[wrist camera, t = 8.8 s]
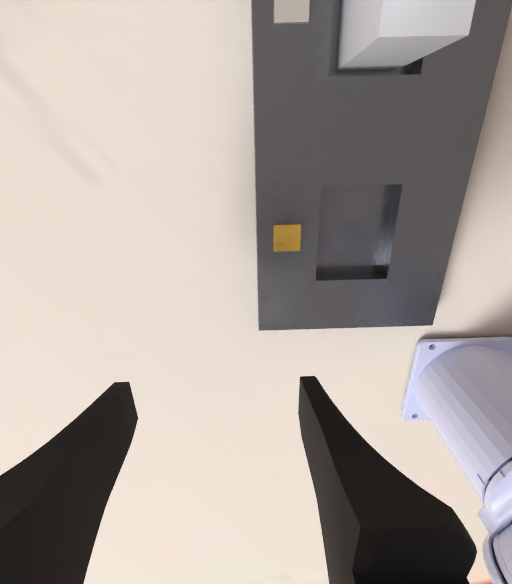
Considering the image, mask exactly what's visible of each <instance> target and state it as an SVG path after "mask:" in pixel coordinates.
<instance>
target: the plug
mask: <svg viewBox="0 0 512 584" xmlns="http://www.w3.org/2000/svg"><path fill="white" fill-rule="evenodd" d="M475 2H476V0H342V3H341V17H340V31H339V45H338V59H337V71H346V70H390V69H399V68H401V67H403V66H406V65H408V64H410V63H412V62H414V61H416V60H418V59H420V58H422V57H424V56H426V55H428V54H430V53H433V52H435V51H437V50H439V49H441V48H443V47H445V46H447V45H449V44H451V43H453V42H455V41H457V40H460V39H462V38H464V37H466V36H468V35H469V31H470V26H471V22H472V17H473V12H474V7H475Z"/></svg>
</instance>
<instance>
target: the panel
mask: <svg viewBox="0 0 512 584" xmlns="http://www.w3.org/2000/svg"><path fill="white" fill-rule="evenodd" d="M341 3H342V0H251V10H252V55H253V100H254V145H255V190H256V235H257V280H258V322H259V330H292V329H325V328H358V327H391V326H424V325H433V321H434V317H435V313H436V309H437V305H438V301H439V297H440V293H441V289H442V285H443V280H444V276H445V272H446V268H447V264H448V260H449V256H450V252H451V248H452V244H453V240H454V236H455V232H456V228H457V224H458V220H459V216H460V212H461V208H462V204H463V199H464V195H465V191H466V187H467V183H468V179H469V175H470V171H471V167H472V163H473V159H474V155H475V151H476V147H477V143H478V139H479V135H480V131H481V127H482V123H483V119H484V114H485V110H486V106H487V102H488V98H489V94H490V90H491V86H492V82H493V78H494V74H495V70H496V66H497V62H498V58H499V54H500V50H501V46H502V42H503V38H504V34H505V29H506V25H507V21H508V17H509V13H510V9H511V5H512V0H476V2H475V7H474V12H473V17H472V22H471V26H470V31H469V35H468V36H466V37H464V38H462V39H460V40H457V41H455V42H453V43H451V44H449V45H447V46H445V47H443V48H441V49H439V50H437V51H435V52H433V53H430V54H428V55H426V56H424V57H422V58H420V59H418V60H416V61H414V62H412V63H410V64H408V65H406V66H403V67H401V68H399V69H390V70H346V71H337V59H338V45H339V31H340V17H341Z"/></svg>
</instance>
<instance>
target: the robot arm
mask: <svg viewBox="0 0 512 584" xmlns="http://www.w3.org/2000/svg"><path fill="white" fill-rule="evenodd" d="M432 344H433V345H432ZM430 345H432V346H431V347H429V346H430ZM298 413H299V421H300V428H301V435H302V440H303V444H304V448H305V452H306V456H307V460H308V464H309V468H310V472H311V476H312V480H313V484H314V488H315V493H316V498H317V503H318V509H319V516H320V522H321V528H322V535H323V542H324V548H325V555H326V562H327V569H328V577H329V584H469V582H468V580H467V576H468V574H469V571H470V569H471V567H472V565H473V563H474V561H475V558H476V554H477V550H476V546H475V544H474V542H473V540H472V538H471V537H470V535H469V533H468V531H467V530H466V528H465V527H464V525H463V523H462V522H461V521H460V519H459V518H458V516H457V515H456V513H455V512H454V510H453V509H452V508H451V507H449V506H448V505H446V504H445V503H443V502H442V501H440V500H439V499H437V498H436V497H434V496H433V495H431V494H430V493H428V492H427V491H425V490H424V489H422V488H421V487H419V486H418V485H417V484H415V483H414V482H413V481H411V480H410V479H409V478H407V477H406V476H405V475H404V474H402V473H401V472H400V471H399V470H397V469H396V468H395V467H394V466H393V465H391V464H390V463H389V462H388V461H387V460H385V459H384V458H383V457H382V456H381V455H380V454H379V453H378V452H377V451H376V450H375V449H374V448H373V447H371V446H370V445H369V444H368V443H367V442H366V441H365V440H364V438H363V437H362V436H361V435H360V434H359V433H358V432H357V431H356V430H355V429H354V428H353V426H352V425H351V424H350V423H349V422H348V421H347V420H346V418H345V417H344V416H343V415H342V413H341V412H340V411H339V410H338V408H337V407H336V406H335V404H334V403H333V402H332V400H331V399H330V398H329V396H328V395H327V393H326V392H325V390H324V389H323V387H322V386H321V384H320V383H319V381H318V379H317V378H316V377H315V376H304V377H300V390H299V411H298ZM413 414H414V415H413ZM401 416H402V417H403V419H404V420H430V422H431V423H432V425H433V426H434V428H435V429H436V431H437V432H438V434H439V435H440V437H441V439H442V440H443V442H444V443H445V445H446V446H447V448H448V449H449V451H450V452H451V454H452V456H453V457H454V459H455V460H456V462H457V463H458V465H459V466H460V468H461V469H462V471H463V473H464V474H465V476H466V477H467V479H468V480H469V482H470V483H471V485H472V486H473V488H474V489H475V491H476V493H477V494H478V496H479V497H480V499H481V500H482V502H483V503H484V505H483V507H482V509H481V510H480V511H479V512H478V513H477V515H478V516H479V518H480V519H481V521H482V523H483V524H484V526H485V528H486V529H487V531H488V532H489V534H488V535H487V536H486V538H485V539H484V542H483V557H484V561H485V565H486V568H487V571H488V573H489V576H490V578H491V581H492V583H493V584H512V337H482V338H449V339H424V340H421V341H419V342H418V344H417V347H416V351H415V356H414V360H413V364H412V369H411V373H410V377H409V382H408V386H407V390H406V395H405V399H404V403H403V408H402V412H401ZM137 420H138V416H137V412H136V408H135V404H134V400H133V396H132V392H131V387H130V383H129V382H115V383H114V384H112V385H111V386H110V387H109V388H108V389H107V390H106V391H105V392H104V393H103V394H102V395H101V396H100V397H99V398H97V399H96V400H95V401H94V402H93V403H92V404H91V405H90V406H89V407H88V408H87V409H86V410H85V411H83V412H82V413H81V414H80V415H79V416H78V417H77V418H76V419H75V420H74V421H72V422H71V423H70V424H69V425H68V426H66V427H65V428H64V429H63V430H62V431H61V432H59V433H58V434H57V435H56V436H55V437H54V438H52V439H51V440H50V441H49V442H47V443H46V444H45V445H43V446H42V447H41V448H40V449H38V450H37V451H35V452H34V453H33V454H31V455H30V456H29V457H27V458H26V459H25V460H23V461H22V462H20V463H19V464H17V465H16V466H14V467H13V468H11V469H10V470H8V471H7V472H5V473H4V474H2V475H1V476H0V584H83V583H84V579H85V575H86V571H87V567H88V564H89V560H90V557H91V553H92V550H93V546H94V543H95V539H96V536H97V532H98V529H99V526H100V523H101V519H102V516H103V513H104V510H105V507H106V504H107V501H108V499H109V496H110V494H111V491H112V489H113V486H114V484H115V481H116V479H117V477H118V474H119V472H120V469H121V467H122V464H123V462H124V460H125V457H126V455H127V452H128V450H129V447H130V445H131V442H132V439H133V435H134V432H135V428H136V424H137Z"/></svg>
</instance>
